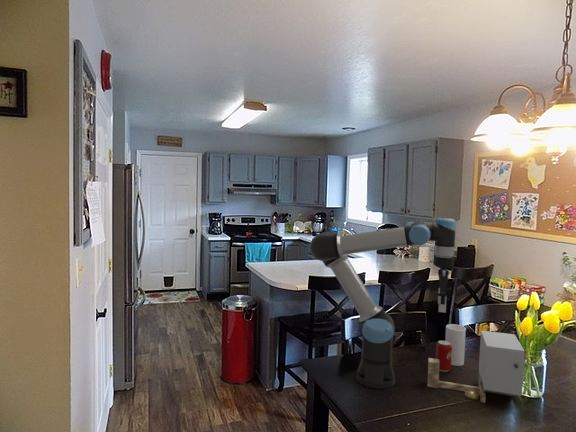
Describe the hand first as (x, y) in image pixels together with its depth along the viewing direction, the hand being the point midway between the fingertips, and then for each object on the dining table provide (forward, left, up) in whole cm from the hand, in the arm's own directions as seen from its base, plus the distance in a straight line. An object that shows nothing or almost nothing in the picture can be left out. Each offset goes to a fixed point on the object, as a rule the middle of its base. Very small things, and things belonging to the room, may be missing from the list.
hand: (441, 307), depth 172 cm
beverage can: (+2, +7, -29) cm, 30 cm away
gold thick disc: (+12, -14, -29) cm, 34 cm away
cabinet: (+21, -10, -29) cm, 37 cm away
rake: (+6, -13, -29) cm, 32 cm away
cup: (+7, +18, -29) cm, 35 cm away
